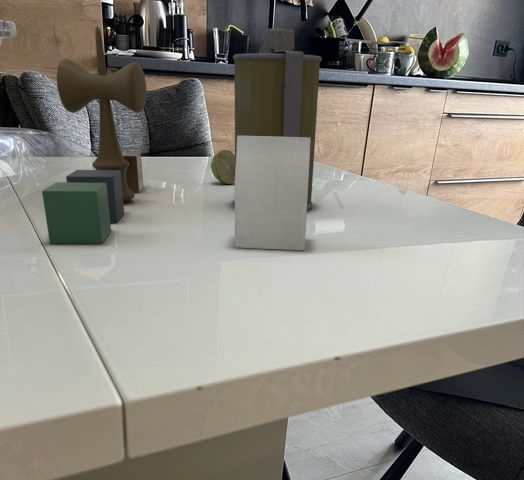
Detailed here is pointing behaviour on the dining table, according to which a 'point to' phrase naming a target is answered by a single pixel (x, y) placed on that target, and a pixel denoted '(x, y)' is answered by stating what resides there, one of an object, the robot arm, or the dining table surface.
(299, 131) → the canister
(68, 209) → the forest green block
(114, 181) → the slate block
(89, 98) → the kendama
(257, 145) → the light grey block
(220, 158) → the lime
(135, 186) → the walnut block
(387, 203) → the dining table surface
